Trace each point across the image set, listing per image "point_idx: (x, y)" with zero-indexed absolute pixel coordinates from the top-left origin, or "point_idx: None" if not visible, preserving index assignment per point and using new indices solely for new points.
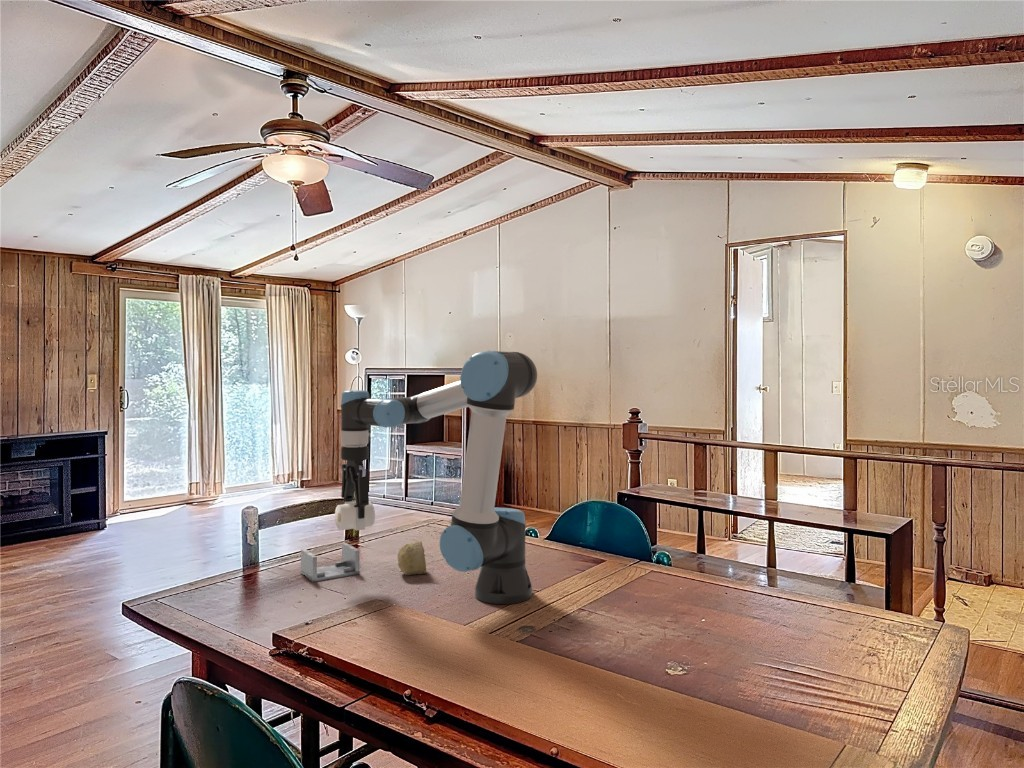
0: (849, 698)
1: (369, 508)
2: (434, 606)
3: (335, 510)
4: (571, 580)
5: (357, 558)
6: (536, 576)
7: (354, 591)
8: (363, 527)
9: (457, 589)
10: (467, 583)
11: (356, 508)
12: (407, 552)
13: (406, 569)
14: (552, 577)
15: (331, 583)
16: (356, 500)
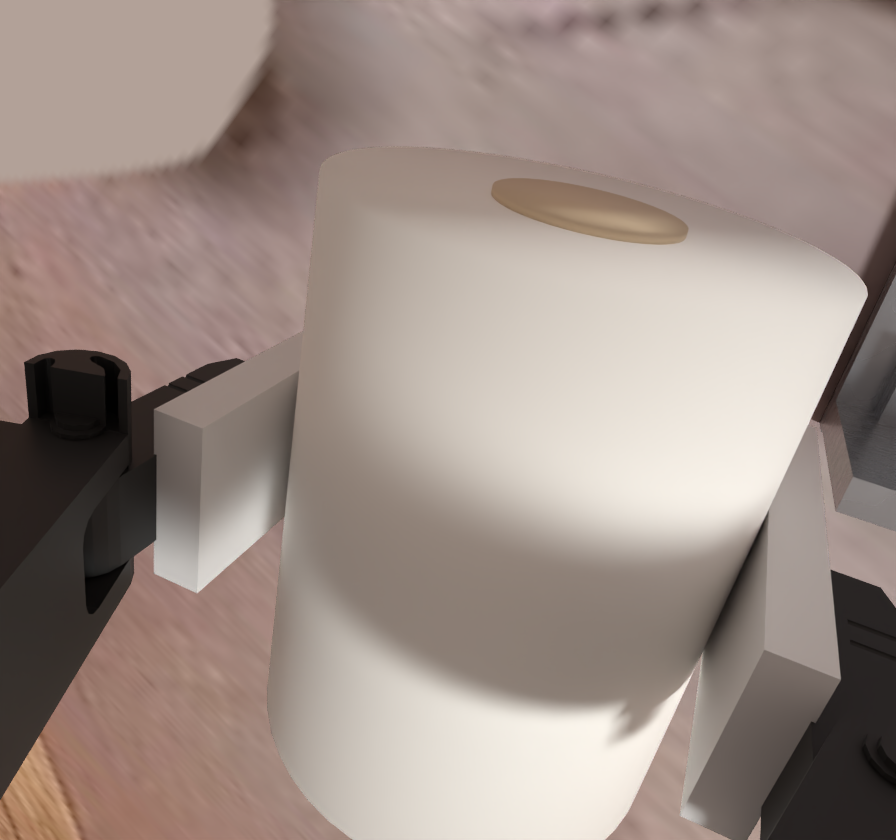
0: None
1: (271, 656)
2: (29, 268)
3: (840, 307)
4: (39, 777)
5: (836, 460)
6: (131, 776)
7: (494, 126)
8: None
9: None
10: (208, 596)
11: (176, 412)
12: None
13: None
14: (94, 785)
15: (812, 115)
16: (29, 480)
